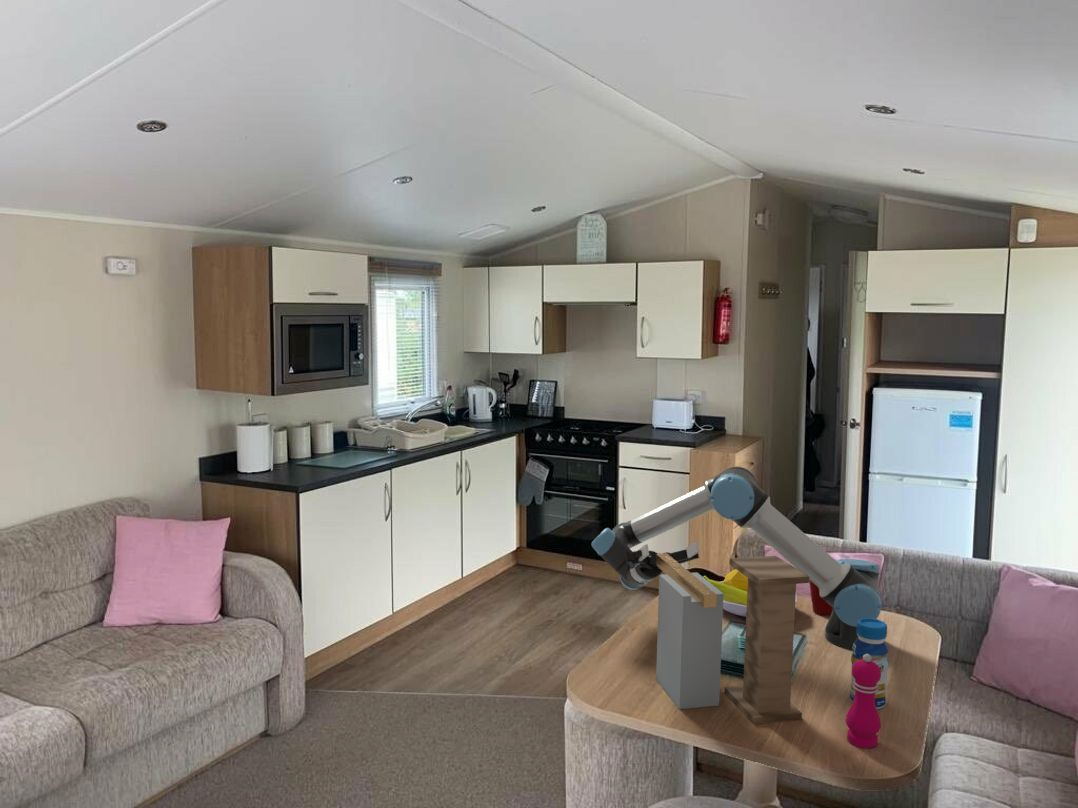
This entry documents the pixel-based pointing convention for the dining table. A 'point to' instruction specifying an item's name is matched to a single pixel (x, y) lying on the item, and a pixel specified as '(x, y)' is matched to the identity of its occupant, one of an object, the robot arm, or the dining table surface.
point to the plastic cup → (819, 601)
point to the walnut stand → (768, 639)
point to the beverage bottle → (872, 653)
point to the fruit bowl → (734, 592)
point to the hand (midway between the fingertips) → (672, 548)
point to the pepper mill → (864, 704)
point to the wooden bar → (686, 580)
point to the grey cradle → (688, 645)
